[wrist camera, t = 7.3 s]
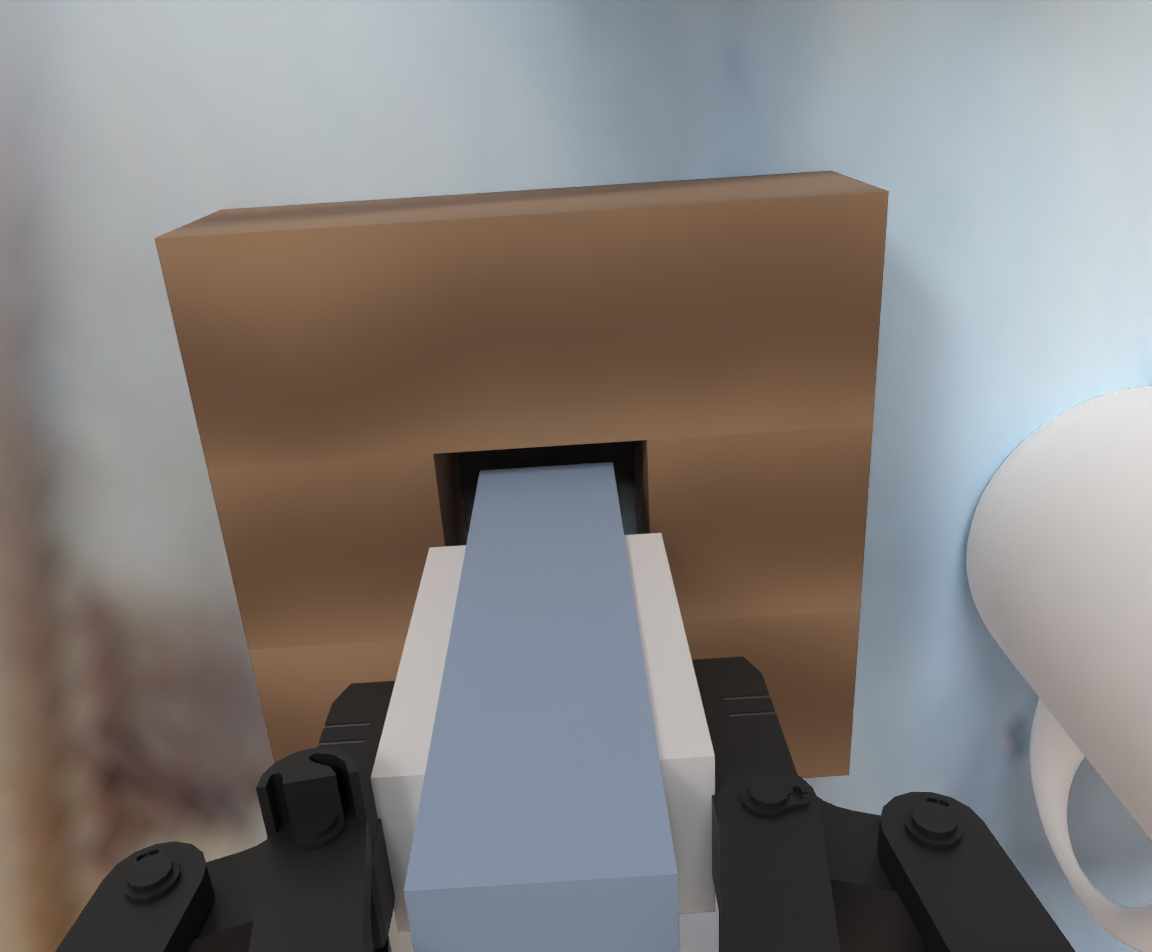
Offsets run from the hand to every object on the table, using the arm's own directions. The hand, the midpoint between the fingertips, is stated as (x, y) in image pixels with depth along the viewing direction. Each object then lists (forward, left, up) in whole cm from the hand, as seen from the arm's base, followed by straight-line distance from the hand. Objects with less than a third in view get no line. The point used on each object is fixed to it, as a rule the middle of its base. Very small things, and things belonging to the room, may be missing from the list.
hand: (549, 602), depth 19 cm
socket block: (0, 0, -6) cm, 6 cm away
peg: (0, 0, -4) cm, 4 cm away
